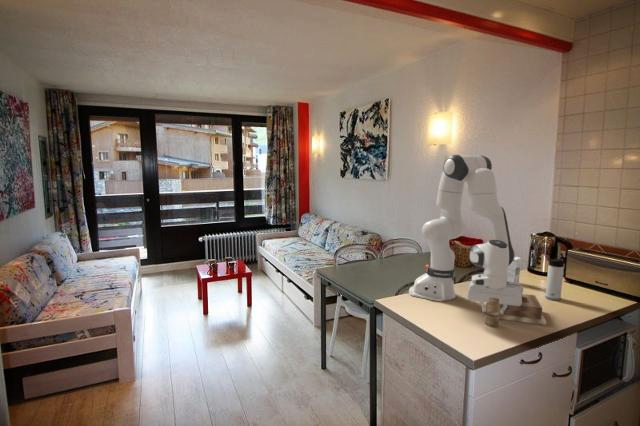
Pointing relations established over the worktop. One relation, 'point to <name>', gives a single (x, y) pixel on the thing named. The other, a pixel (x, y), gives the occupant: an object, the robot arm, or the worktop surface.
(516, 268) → the syrup box
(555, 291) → the travel mug
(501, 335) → the worktop surface
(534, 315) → the socket board
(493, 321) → the oak peg
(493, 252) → the robot arm
